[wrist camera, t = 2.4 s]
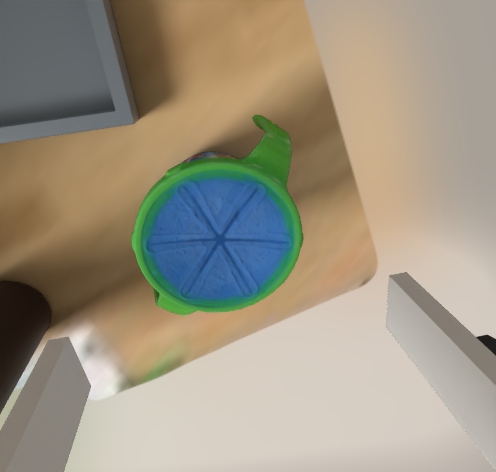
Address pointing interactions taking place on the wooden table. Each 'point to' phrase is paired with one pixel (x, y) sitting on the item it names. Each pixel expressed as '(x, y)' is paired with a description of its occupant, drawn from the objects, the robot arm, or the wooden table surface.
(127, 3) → the wooden table surface
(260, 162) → the snack cup
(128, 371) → the wooden table surface
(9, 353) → the bottle
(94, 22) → the tray
